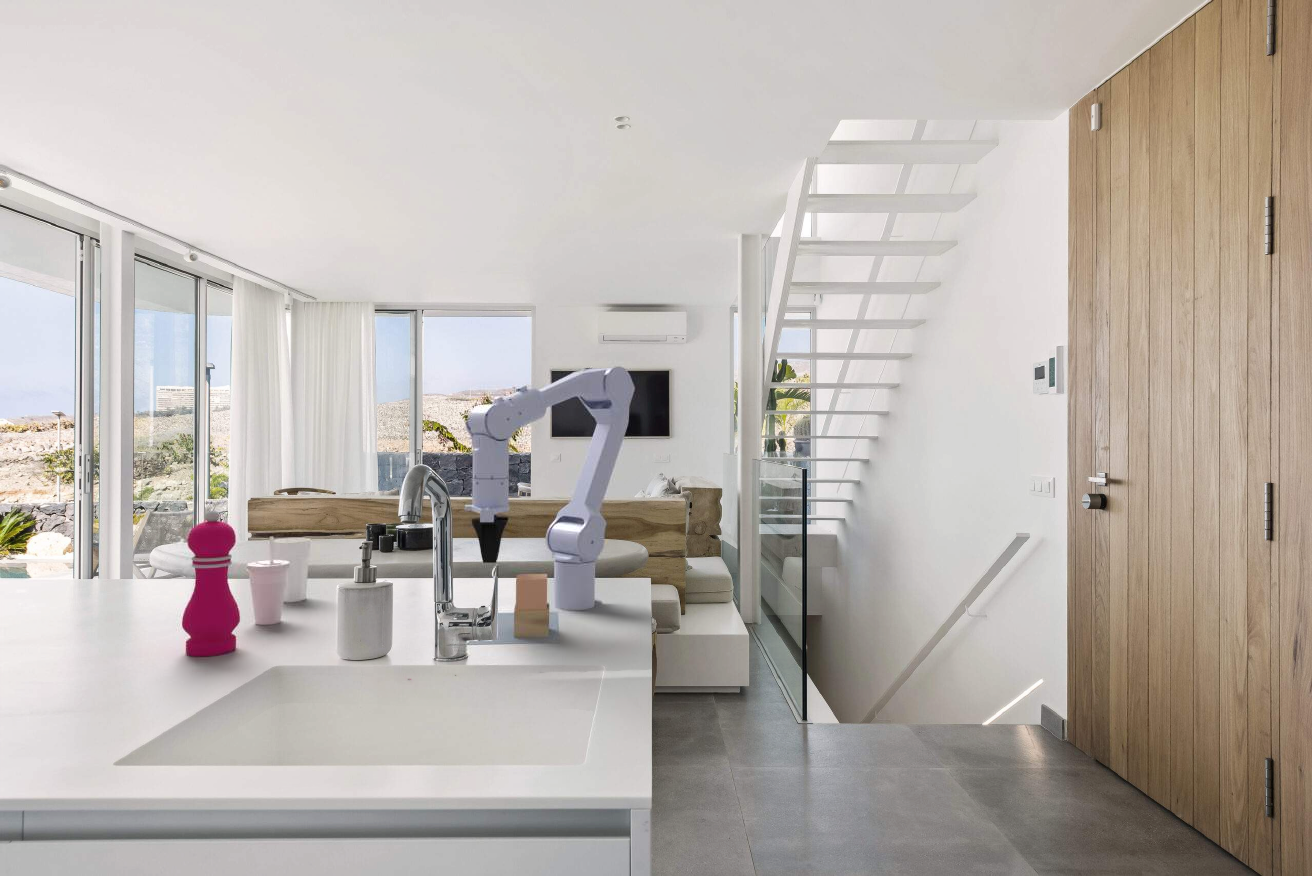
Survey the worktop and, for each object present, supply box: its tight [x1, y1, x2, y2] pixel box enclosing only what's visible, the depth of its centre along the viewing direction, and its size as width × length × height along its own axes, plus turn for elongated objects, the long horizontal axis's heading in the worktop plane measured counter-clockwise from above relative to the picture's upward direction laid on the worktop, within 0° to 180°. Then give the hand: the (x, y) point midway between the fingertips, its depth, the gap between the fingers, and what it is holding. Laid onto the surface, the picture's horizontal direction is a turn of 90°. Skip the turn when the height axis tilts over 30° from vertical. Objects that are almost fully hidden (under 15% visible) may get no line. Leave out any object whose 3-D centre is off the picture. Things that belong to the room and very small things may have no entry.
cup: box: [273, 537, 311, 603], centre depth 149 cm, size 7×7×11 cm
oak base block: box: [513, 602, 550, 638], centre depth 123 cm, size 5×5×4 cm
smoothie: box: [246, 536, 290, 626], centre depth 131 cm, size 6×6×14 cm
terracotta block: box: [515, 573, 548, 610], centre depth 123 cm, size 5×5×5 cm
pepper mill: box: [181, 509, 241, 658], centre depth 114 cm, size 7×7×20 cm
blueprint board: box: [466, 611, 560, 646], centre depth 126 cm, size 20×16×1 cm
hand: (489, 562), depth 130 cm, fingers closed
